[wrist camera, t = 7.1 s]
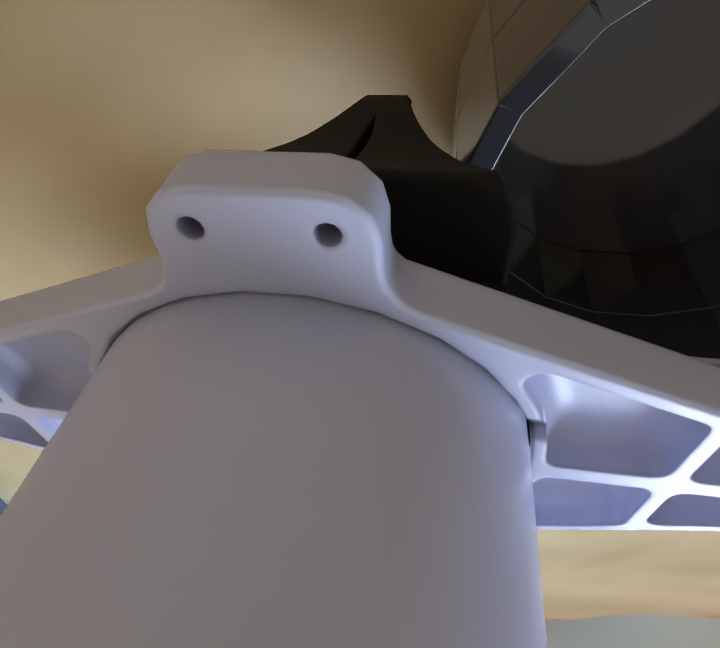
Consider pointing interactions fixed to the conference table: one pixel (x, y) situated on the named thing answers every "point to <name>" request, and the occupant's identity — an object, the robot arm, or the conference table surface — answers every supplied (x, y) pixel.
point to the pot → (605, 158)
